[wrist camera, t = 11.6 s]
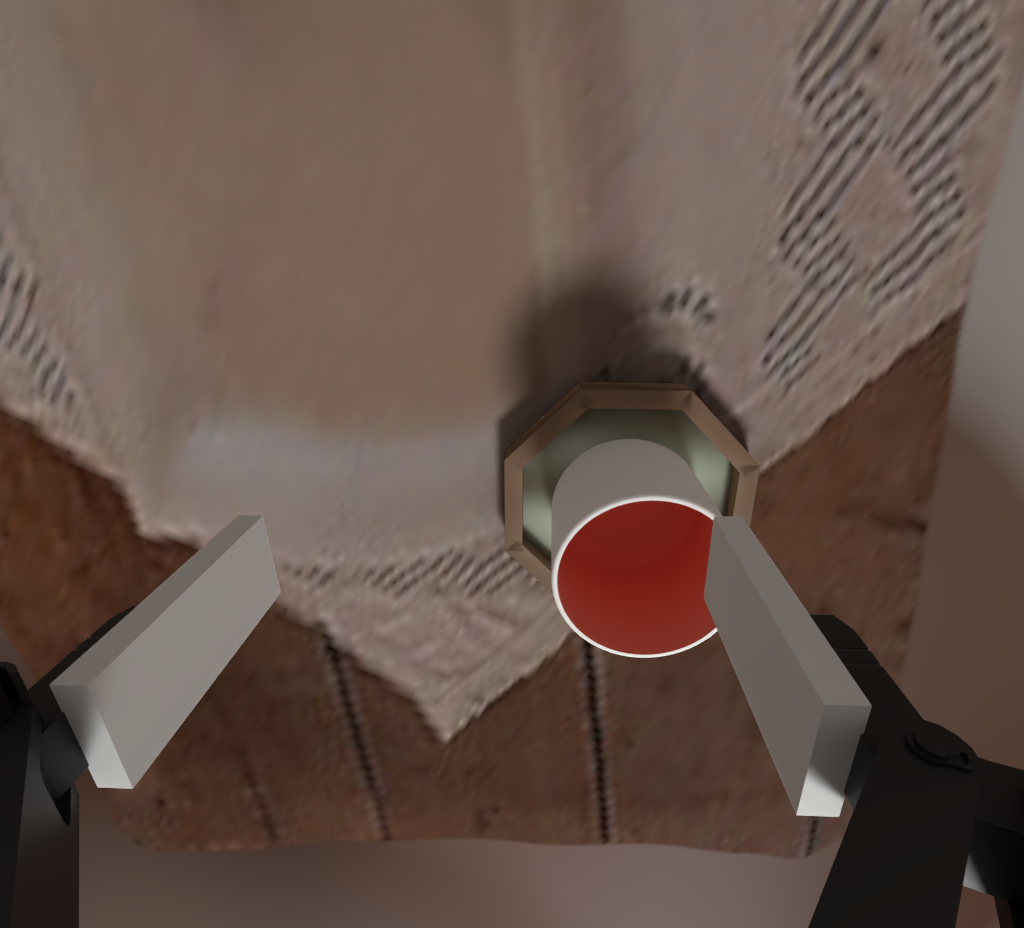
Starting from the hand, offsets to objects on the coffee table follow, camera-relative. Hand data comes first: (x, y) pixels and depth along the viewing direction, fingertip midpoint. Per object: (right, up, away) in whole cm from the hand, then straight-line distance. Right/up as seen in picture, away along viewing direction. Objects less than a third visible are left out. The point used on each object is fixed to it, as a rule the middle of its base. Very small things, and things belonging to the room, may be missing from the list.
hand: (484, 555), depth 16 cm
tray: (+9, 0, +22) cm, 24 cm away
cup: (+9, 0, +22) cm, 23 cm away
